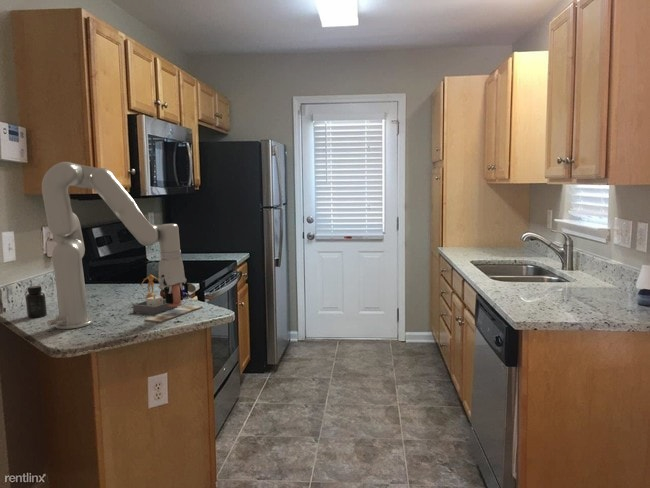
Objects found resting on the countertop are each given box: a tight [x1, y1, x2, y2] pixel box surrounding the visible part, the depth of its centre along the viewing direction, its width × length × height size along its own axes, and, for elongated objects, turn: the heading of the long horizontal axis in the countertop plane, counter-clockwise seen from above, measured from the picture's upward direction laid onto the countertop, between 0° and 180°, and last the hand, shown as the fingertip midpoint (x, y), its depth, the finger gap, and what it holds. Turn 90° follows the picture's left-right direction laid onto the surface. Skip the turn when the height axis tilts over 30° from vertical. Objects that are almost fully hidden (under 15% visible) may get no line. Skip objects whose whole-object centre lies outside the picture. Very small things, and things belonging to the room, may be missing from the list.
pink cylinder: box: [167, 284, 183, 308], centre depth 204 cm, size 5×5×11 cm
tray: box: [132, 298, 178, 315], centre depth 214 cm, size 12×12×3 cm
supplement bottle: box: [25, 285, 48, 319], centre depth 210 cm, size 7×7×12 cm
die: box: [145, 295, 164, 306], centre depth 213 cm, size 5×5×5 cm
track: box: [143, 304, 204, 324], centre depth 205 cm, size 24×8×1 cm, turn 154°
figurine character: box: [159, 281, 197, 299], centre depth 237 cm, size 7×8×15 cm
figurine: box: [140, 274, 159, 299], centre depth 229 cm, size 8×6×12 cm
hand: (174, 301), depth 205 cm, fingers closed on pink cylinder, 4 cm apart
